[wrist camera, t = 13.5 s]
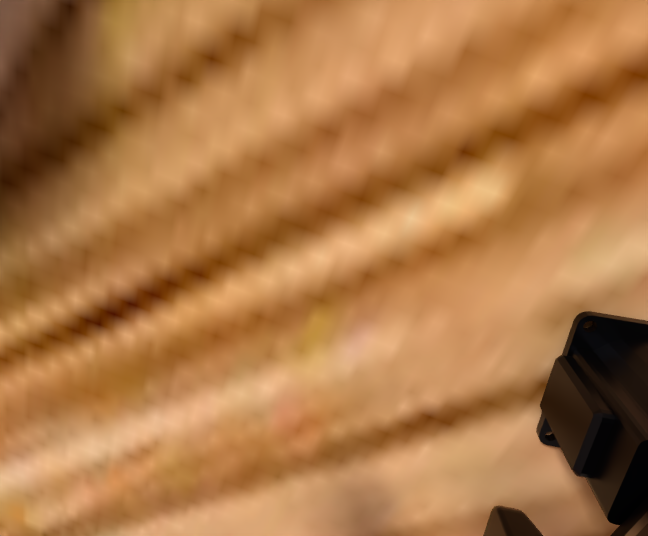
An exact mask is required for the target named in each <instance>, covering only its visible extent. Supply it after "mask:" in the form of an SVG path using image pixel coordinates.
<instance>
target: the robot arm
mask: <svg viewBox="0 0 648 536" xmlns="http://www.w3.org/2000/svg"><path fill="white" fill-rule="evenodd" d="M588 321H593V324H592V325H591V326H590V327H588V328H584V324H585V323H586V322H588ZM540 407H541V409H542V414H541V417H540V420H539V423H538V426H537V431H536V432H537V434H538V437H539V439H540V441H541V442H542V443H543V444H546V445H550V446H555V447H560V448H561V449H562V451H563V453H564V455H565V457H566V459H567V461H568V463H569V465H570V467H571V469H572V470H573V472H574V473H575V474H576V475H577V476H580V477H585V478H586V480H587V482H588V483H589V485H590V487H591V489H592V491H593V493H594V495H595V497H596V499H597V500H598V502H599V504H600V506H601V508H602V510H603V512H604V514H605V516H606V518H607V519H608V521H609V522H610V523H613V524H616V525H620V526H619V527H618V528H617V529H616V530H615V531H614V533H613V534H612V535H611V536H648V321H645V320H638V319H632V318H626V317H620V316H614V315H608V314H602V313H596V312H582V313H580V314H579V315H577V316H576V318H575V319H574V321H573V324H572V327H571V330H570V333H569V336H568V339H567V342H566V345H565V348H564V350H563V353H562V355H561V356H559V357H558V358H557V359H556V360H555V363H554V365H553V368H552V371H551V374H550V377H549V380H548V383H547V386H546V389H545V392H544V395H543V398H542V401H541V404H540ZM549 431H553V433H552V434H550V435H545V434H546V433H547V432H549ZM483 536H543V535H542V534H541V532H540V531H539V530H538V529H537V528H536V527H535V525H534V524H533V523H532V522H531V521H530V519H529V518H528V517H527V516H526V515H525V514H524V513H523V512H522V511H520V510H518V509H514V508H509V507H504V506H495V507H494V508H493V509H492V511H491V514H490V517H489V520H488V523H487V526H486V529H485V532H484V535H483Z"/></svg>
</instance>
